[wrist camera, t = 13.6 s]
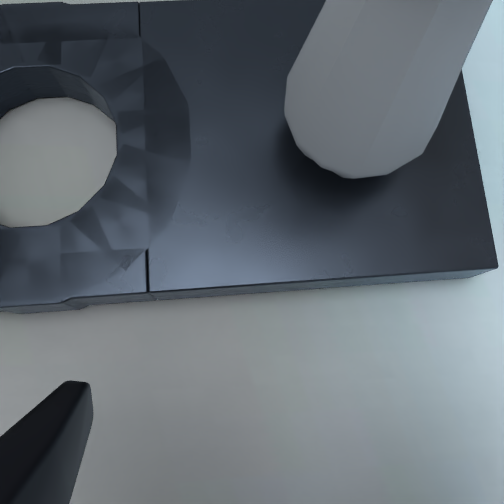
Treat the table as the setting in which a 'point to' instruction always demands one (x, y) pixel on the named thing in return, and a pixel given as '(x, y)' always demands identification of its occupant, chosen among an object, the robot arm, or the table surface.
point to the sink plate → (220, 165)
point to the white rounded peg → (377, 80)
